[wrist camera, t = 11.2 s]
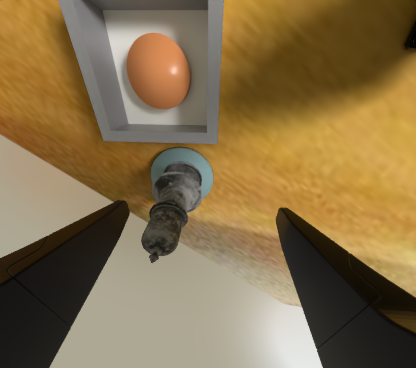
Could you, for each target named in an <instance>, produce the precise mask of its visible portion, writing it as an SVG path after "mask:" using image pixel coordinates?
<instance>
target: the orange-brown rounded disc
mask: <svg viewBox="0 0 416 368" xmlns="http://www.w3.org/2000/svg"><path fill="white" fill-rule="evenodd" d="M126 65H127V75H128V79H129V81H130V84H131V86H132V88H133V90H134V92H135V93H136V94H137V96H138V97H139V98H140V99H141V100H142V101H143V102H144V103H146V104H147V105H149V106H151V107H153V108H157V109H169V108H172V107H175V106H177V105H179V104H180V103H181V102H182V101H183V100H184V99H185V98H186V96H187V94H188V92H189V90H190V86H191V69H190V65H189V62H188V60H187V57H186V56H185V54H184V52H183V51H182V50H181V48H180V47H179V46H178V45H177V44H176V43H175V42H174V41H173V40H172V39H170V38H169V37H167V36H165V35H163V34H160V33H147V34H144V35H142V36H140V37H139V38H137V39H136V40H135V41H134V42H133V44H132V45H131V47H130V49H129V52H128V56H127V64H126Z"/></svg>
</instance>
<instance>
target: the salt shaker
mask: <svg viewBox="0 0 416 368" xmlns="http://www.w3.org/2000/svg"><path fill="white" fill-rule="evenodd" d="M201 184H202V176H201V173H200V171H199V170H198V169H197V168H196V167H195V166H194V165H192V164H191V163H188V162H184V161H177V162H173V163H171V164H170V165H168V166H167V167H166V169H165V170H164V173H162V174H161V175H159V176H158V177H157V178H156V179H155V181H154V182H153V185H152V195H153V198H154V200H155V201H156V204H155V205H153V207H152V208H151V209H150V218H151V219H150V221H149V223H148V225H147V227H146V229H145V231H144V233H143V235H142V240H141V242H142V245H143V248H144V249H145V250H146V251H147V252H149V253H150V254H151V255H150V256H149V258H150V261H151V263H153V262H155V261H156V260H158V259H159V257H158V256H165V255H168V254H170V253H172V252H173V251H174V250H175V249H176V247H177V245H178V241H179V237H180V233H181V229H182V228H183V227H184V226H185V225H186V223H187V221H188V216H187V213H188V212H191V211H193V210H195V209H196V208H197V207H198V206H199V205H200V203H201V201H202V195H203V194H202V189H201Z"/></svg>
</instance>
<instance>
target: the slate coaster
mask: <svg viewBox="0 0 416 368" xmlns="http://www.w3.org/2000/svg"><path fill="white" fill-rule="evenodd" d="M177 161H184V162H188V163H191V164H192V165H194V166H195V167H196V168H197V169H198V170H199V171H200V173H201V176H202V184H201V189H202V194H203V195H202V199H203V198H204V197H205V196H207V194H208V193H209V192H210V190H211V188H212V184H213V171H212V168H211V166H210V164H209V162H208V161H207V159H206V158H205V157H204V156H203V155H202V154H200V153H199V152H197V151H195V150H193V149H190V148H186V147H174V148H170V149H167V150H165V151H164V152H162V153H161V154H160V155H159V156H158V157H157V158H156V159H155V161H154V162H153V164H152V167H151V180H152V183H153V182H154V181H155V179H156V178H157V177H158V176H159V175H161V174H162V173H164V170H165V169H166V167H167V166H168V165H170V164H171V163H173V162H177Z"/></svg>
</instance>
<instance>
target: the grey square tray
mask: <svg viewBox="0 0 416 368" xmlns="http://www.w3.org/2000/svg"><path fill="white" fill-rule="evenodd" d="M58 1H59V4H60V7H61V10H62V14H63V17H64V20H65V23H66V26H67V29H68V32H69V35H70V38H71V42H72V45H73V48H74V51H75V54H76V57H77V60H78V63H79V66H80V69H81V73H82V76H83V79H84V82H85V85H86V88H87V91H88V94H89V97H90V100H91V104H92V107H93V110H94V113H95V116H96V119H97V122H98V125H99V128H100V131H101V135H102V138H103V141H118V142H155V143H193V144H217V142H218V119H219V97H220V74H221V52H222V29H223V7H224V0H58ZM147 33H160V34H163V35H165V36H167V37H169V38H170V39H172V40H173V41H174V42H175V43H176V44H177V45H178V46H179V47H180V48H181V50H182V51H183V52H184V54H185V56H186V57H187V60H188V62H189V65H190V69H191V86H190V90H189V92H188V94H187V96H186V98H185V99H184V100H183V101H182V102H181V103H180V104H179V105H177V106H175V107H172V108H169V109H157V108H153V107H151V106H149V105H147V104H146V103H144V102H143V101H142V100H141V99H140V98H139V97H138V96H137V94H136V93H135V92H134V90H133V88H132V86H131V84H130V81H129V79H128V75H127V65H126V64H127V56H128V52H129V49H130V47H131V45H132V44H133V42H134V41H135V40H136V39H137V38H139V37H140V36H142V35H144V34H147Z"/></svg>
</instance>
